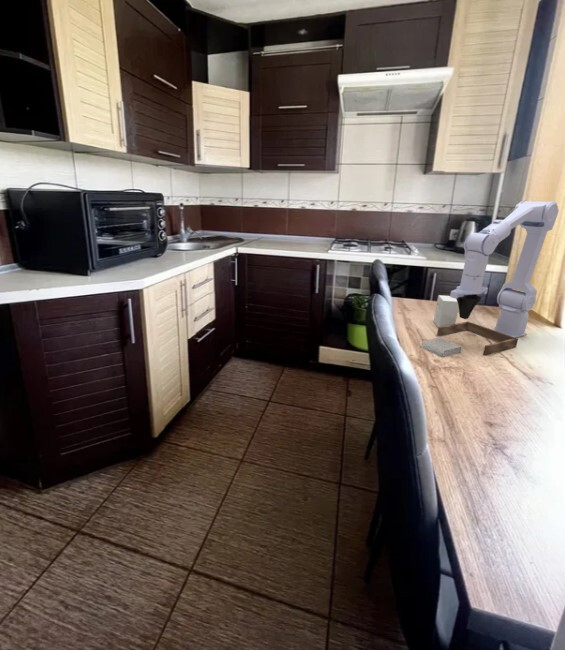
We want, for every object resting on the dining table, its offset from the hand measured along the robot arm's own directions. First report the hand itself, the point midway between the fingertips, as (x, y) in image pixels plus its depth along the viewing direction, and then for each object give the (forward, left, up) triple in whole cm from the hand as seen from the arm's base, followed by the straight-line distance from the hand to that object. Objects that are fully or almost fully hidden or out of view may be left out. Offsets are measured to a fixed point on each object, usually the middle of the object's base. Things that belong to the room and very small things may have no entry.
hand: (463, 318), depth 107 cm
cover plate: (+8, 0, -10) cm, 13 cm away
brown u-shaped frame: (-8, 0, -9) cm, 12 cm away
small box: (-12, -15, -10) cm, 21 cm away
